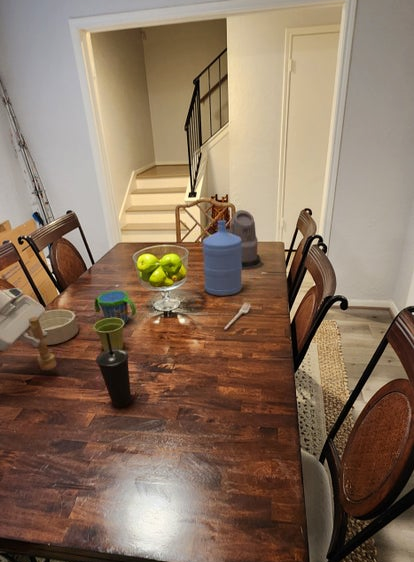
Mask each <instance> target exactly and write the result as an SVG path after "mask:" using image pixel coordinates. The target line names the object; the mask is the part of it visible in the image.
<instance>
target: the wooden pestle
mask: <svg viewBox="0 0 414 562" xmlns="http://www.w3.org/2000/svg"><path fill="white" fill-rule="evenodd" d="M29 323H30V326H31V329H32V332H33V335H34V338H35V337H37V338H38V339H40V340H41V343H40V344H39V345H38V346H37V347H36V348H37V351H38V353H39V355H38V357H37V359H36V360H37V363H38V365H39V368H40V370H42V371H49V370H53V369H54V368H56V366H57V361H56V358H55V357H56V356H55V354H54V353H51V352H50V351H49V348H48V345H46V341H45V338H44V335H43V332H42V329H41V326H40V322H39V319H38V317H32V318H30V319H29Z"/></svg>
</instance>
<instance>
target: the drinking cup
mask: <svg viewBox="0 0 414 562" xmlns="http://www.w3.org/2000/svg"><path fill="white" fill-rule="evenodd" d="M106 337H107V342H108V346H109V350H107V351H104V350H103V351H102V352H100V353H99V354H98V355H97V356H96V358H95V362H96V364H97V366H98V368H99V370H100V373H101V375H102V379H103V382H104V385H105V387H106V390H107V392H108V393H107V394H108V395H109V399H110V401H111V403H112V405H113V407H115V408H124V407H127V406H129V405H130V403H131V402H132V393H131V382H130V370H129V369H130V368H129V357H130V356H129V352H128V351H127V350H125V349H123V348H122V349H112V346H111V342H110V337H109V333H106Z"/></svg>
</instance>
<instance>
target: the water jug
mask: <svg viewBox="0 0 414 562" xmlns="http://www.w3.org/2000/svg"><path fill="white" fill-rule="evenodd" d="M226 229H227V225H226V220H224V219H221V220H217V231H216V232H215V233H213V234H211V235H209V236H207V237H205V238H203V240H202V253H203V273H204V290H205V292H206V293H208V294H209V295H212V296H218V297H226V296H232V295H235V294H238V293H240V291H242V288H243V287H242V286H243V283H242V270H243V269H242V263H241V261H242V240H241V238H240V237H238V236H235V235H233V234H231V233H228V232H226Z"/></svg>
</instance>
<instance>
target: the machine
mask: <svg viewBox="0 0 414 562" xmlns="http://www.w3.org/2000/svg"><path fill="white" fill-rule="evenodd" d="M226 232H228V233H231V234H233V235H235V236H238V237H240V238H241V240H242V261H241V263H242V270H251V269H257V268H259V267H261V266H262V265H263V264H262V262H261V256H260V255H259V254H258V244H259V243H258V237H257V234H256V233H257V232H256V222H255V219H254V216H253V215H252V214H251V213H250V212H249V211H248V210H244V209H238V210H237V211H235V212H234V214H233V217H232V218H231V220H230V221H229V228H226Z"/></svg>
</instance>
